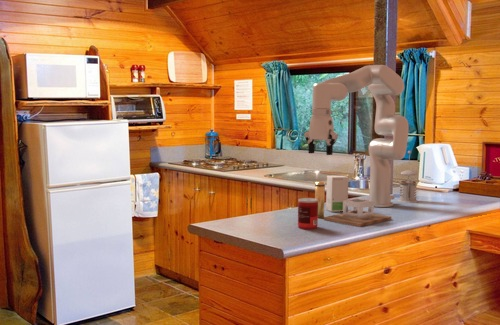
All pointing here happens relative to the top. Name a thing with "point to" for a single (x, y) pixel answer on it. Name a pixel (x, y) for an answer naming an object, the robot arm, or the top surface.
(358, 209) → the collar cage
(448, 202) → the top surface
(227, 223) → the top surface
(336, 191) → the skincare box
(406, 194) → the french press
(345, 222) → the stand board
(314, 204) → the canned food
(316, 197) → the brass tube
